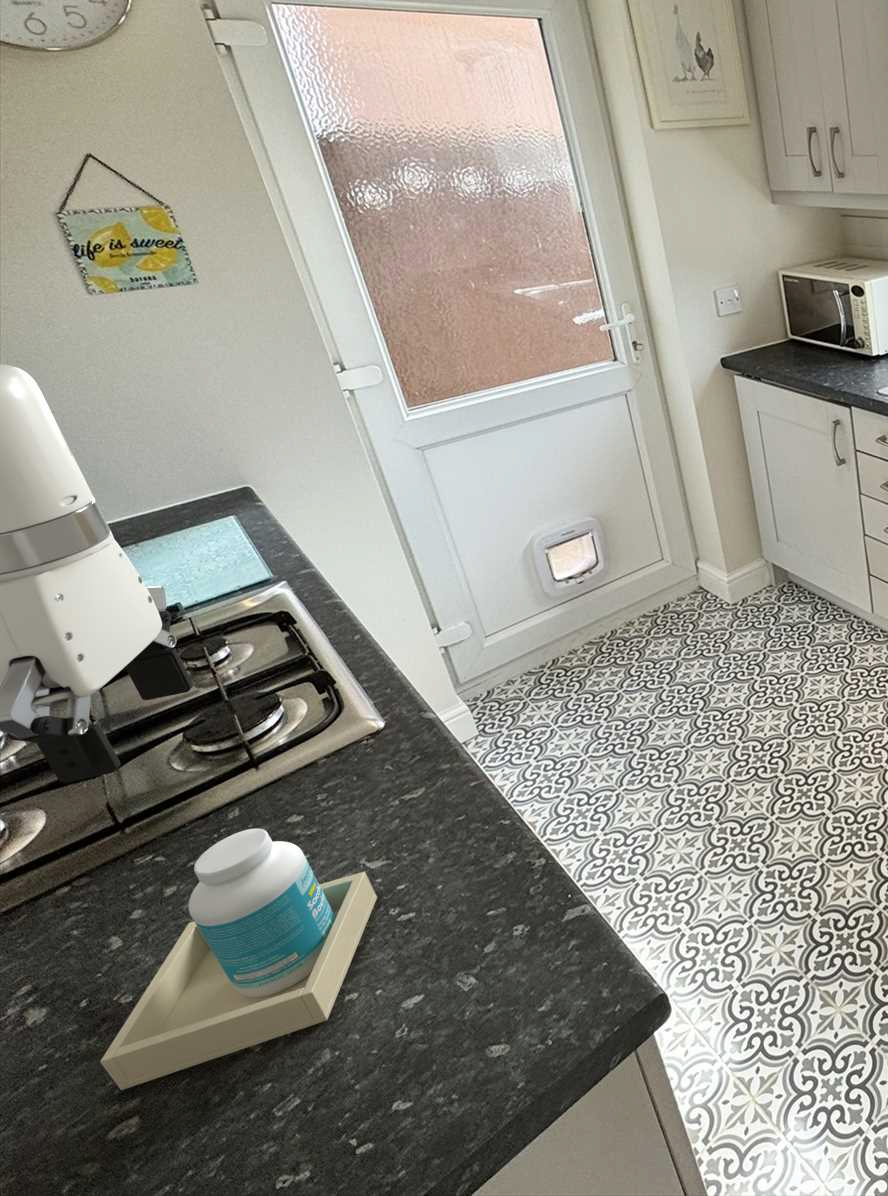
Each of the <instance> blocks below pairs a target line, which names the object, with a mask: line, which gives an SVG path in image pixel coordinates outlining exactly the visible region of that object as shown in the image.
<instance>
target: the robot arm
mask: <svg viewBox="0 0 888 1196" xmlns="http://www.w3.org/2000/svg"><path fill="white" fill-rule="evenodd" d="M77 462H78V461H76V459H75V456H74V455H73V452H72V451H71V449H70V446H69V444H68V443H67V440H66V439H65V437H64V435H63V433H62V431H61V429H60V427H59V425H58V422H57V421H56V418H55V417H54V415H53V413H52V410H51V408H50V407H49V404H48V402H47V401H46V399H45V396H44V395H43V393H42V391H41V389H40V387H39V386H38V384H37V382H36V380H35V379H34V378H33V377H32V376H31V375H30V374H28V372H26V371H25V370H23V369H21V368H19V367H16V366H13V365H11V364H2V363H0V732H2V733H4V734H5V735H7V737H8V739H10V740H11V741H17V742H18V741H19V742H24V743H25V744H26V745H28V746H34V745H36V746H37V747H38V749H39V750H40V752H41V754H42V755H43V757H44V759H45V760H46V762H47V763H48V765H49V767H50V768H51V771H52V772H53V774H54V775H55V776H56V778H57V780H58V782H60V783H64V784H66V783H67V784H68V783H72V782H77V781H82V780H86V779H90V778H95V777H100V776H104V775H108V774H112V773H114V772H116V771H117V769H119V768H120V767H121V765H122V764H121V761H120V759H119V757H118V755H117V754H116V751H115V750H114V747H113V746H112V744H111V743H110V741H109V739H108V737H107V736H106V733H105V732H104V730H103V728H102V726H101V725H100V723H95V724H90V713H91V702H92V701H91V699H92V695H93V694H95V693H97V692H98V691H99V690H100V689H101V688H103V687H104V686H105V685H106V684H108V683H109V682H110V681H111V680H113V678H114V677H116V676H117V675H118V674H119V673H120V672H121V671H122V670H123V669H124V668H125V671H126V672H127V674H128V675H129V677H130V679H131V681H132V683H133V685H134V687H135V688H136V690H137V693H138V694H139V696H140V698H141V699H142V700H143V701H150V700H156V699H161V698H165V697H170V696H175V695H181V694H186V693H188V692H190V690H191V689H192V688H193V687H194V683H193V681H192V679H191V676H190V675H189V673H188V671H187V669H186V667H185V665H184V663H183V661H182V659H181V656H180V655H179V652H178V651H177V649H176V647H175V646H176V645H177V637H176V634H174V633H172V632H171V631H170V630H171V623H172V619H173V618H172V614H171V613H170V611H168V610H167V609H168V608H167V607H168V606H167V597H166V590H165V588H164V587H163V586H160V585H158V586H146V584H145V582H144V580H143V579H142V577H141V576H140V574H139V572H138V570H137V569H136V568H135V565H134V564H133V562H132V561H131V560H130V558H129V557H128V556H127V554H126V553H125V551H124V549H123V548H122V547H121V546H120V544H119V543H118V542H117V540H116V539H115V537H114V534H113V533H112V530H111V528H110V526H109V524H108V522H107V521H106V518H105V516H104V514H103V512H102V510H101V508H100V506H99V505H98V502H97V501H96V498H95V496H94V495H93V493H92V491H91V489H90V486H89V485H88V483H87V481H86V478H85V477H84V474H83V473H82V470H81V469H80V466H79V464H78V463H77ZM174 647H175V648H174ZM60 687H62V688H67V687H69V688H70V689H68V690H63V691H58V692H54V693H53V692H52V693H50V689H55V688H60ZM60 704H66V705H67V706H66V715H65V717H59V716H52V715H51V706H55V705H60Z"/></svg>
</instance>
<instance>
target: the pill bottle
mask: <svg viewBox="0 0 888 1196" xmlns="http://www.w3.org/2000/svg"><path fill="white" fill-rule="evenodd" d="M193 871H194V873H195V876H196V877H197V880H198V881H199V882H198V883H197V884H196V886H195V887H194V889H193V890H192V892H191V894H190V897H189V899H188V907H187V908H188V912H189V914H190V915H189V916H190V917H191V918H192V920H193V921H194V922H195V923H196V925H197V927H198V928H199V930H200V931H201V933H202V935H203V936H204V938H205V940H206V941H207V943H208V945H209V946H210V948H211V950H212V951H213V953H214V955H215V956H216V958H217V960H218V961H219V963H220V965H221V967H222V968H223V970H224V971H225V973H226V975H227V976H228V978H229V980H230V981H231V983H232V985H233V986H234V988H235V989H236V990H237V992H238V993H240V994H241V995H243V996H246V997H263V996H268V995H271V994H274V993H277V992H280V991H282V990H284V989H287V988H289V987H291V986H292V985H294V984H296V983H298V982H299V981H301V980H302V979H304V978H305V977H307V976H308V975H309V974H311V972H312V970H313V968H314V965H315V963H316V961H317V959H318V957H319V954H320V952H321V950H322V948H323V945H324V943H325V941H326V939H327V937H328V934H329V932H330V930H331V928H332V925H333V923H334V921H335V919H336V917H335V915H334V913H333V911H332V909H331V907H330V905H329V903H328V901H327V899H326V897H325V895H324V893H323V891H322V889H321V887H320V883H319V881H318V880H317V878H316V875H315V873H314V872H313V870H312V867H311V866H310V864H309V862H308V859H307V857H306V856H305V853H304V852H303V850H302V849H301V848H300V847H299V846H298V845H296V844H294V843H292V842H288V841H282V840H281V841H279V840H277V841H273V840H272V838H271V836H270V835H269V833H268V832H267V830H265V829H263V828H249V829H244V830H241V831H239V832H236V833H233V834H231V835H229V836H227V837H225V838H223V839H221V840H220V841H217V842H216V843H215V844H213V845H212V846H210V847H209V848H208V849H206V850H205V851H204V852H203V853H202V854H201V855H200V856H199V857H198V858H197V860H196V862H195V863H194V866H193Z"/></svg>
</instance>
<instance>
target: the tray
mask: <svg viewBox="0 0 888 1196" xmlns="http://www.w3.org/2000/svg"><path fill="white" fill-rule="evenodd" d="M319 885H320V887H321V889H322V891H323V893H324V895H325V897H326V899H327V901H328V903H329V905H330V907H331V909H332V911H333V913H334V915H335V917H336V919H335V921H334V923H333V925H332V928H331V930H330V932H329V934H328V937H327V939H326V941H325V943H324V945H323V948H322V950H321V952H320V954H319V957H318V959H317V961H316V963H315V965H314V968H313V970H312V972H311V974H309V975H308V976H307V977H305V978H304V979H302V980H301V981H299V982H298V983H296V984H294V985H292V986H291V987H289V988H287V989H284V990H282V991H280V992H277V993H274V994H271V995H268V996H263V997H246V996H243V995H241V994H240V993H238V992H237V990H236V989H235V988H234V986H233V985H232V983H231V981H230V980H229V978H228V976H227V975H226V973H225V971H224V970H223V968H222V967H221V965H220V963H219V961H218V960H217V958H216V956H215V955H214V953H213V951H212V950H211V948H210V946H209V945H208V943H207V941H206V940H205V938H204V936H203V935H202V933H201V931H200V930H199V928H198V927H197V925H196V923H195V922H194V920H193V921H191V922H188V924H187V925H186V927H185V928H184V929H183V931H182V933H181V934H180V936H179V938H178V939H177V941H176V942H175V944H174V946H173V947H172V949H171V950H170V952H169V953H168V955H167V956H166V958H165V960H164V961H163V962H162V964H161V966H160V968H158V970H157V972H156V974H155V975H154V977H153V978H152V980H151V981H150V982H149V985H148V986H147V987H146V989H145V991H143V994H142V995H141V997H140V999H139V1001H137V1003H136V1005H135V1006H134V1008H133V1009H132V1011H131V1012H130V1014H129V1015H128V1017H127V1019H126V1020H125V1022H124V1024H123V1025H122V1026H121V1028H120V1030H119V1031H118V1033H117V1035H116V1036H115V1038H114V1039H113V1040H112V1042H111V1044H110V1045H109V1047H108V1049H107V1050H106V1052H104V1055H103V1056H102V1058H101V1059H100V1064H101V1065H102V1067H103V1068H104V1069H105V1071H106V1072H107V1073H108V1074H109V1076H110V1077H111V1079H112V1080H113V1082H114V1083H115V1084H116V1085H117V1087H118V1088H119V1089H120V1091H123V1090H126V1089H129V1088H132V1087H135V1086H138V1085H141V1084H144V1083H147V1082H150V1081H153V1080H156V1079H159V1078H162V1077H165V1076H167V1075H170V1074H174V1073H177V1072H179V1071H182V1070H185V1069H189V1068H191V1067H195V1066H198V1065H200V1064H203V1063H206V1062H209V1061H212V1060H214V1059H218V1058H220V1057H224V1056H226V1055H229V1054H232V1053H235V1052H238V1051H241V1050H244V1049H247V1048H250V1047H253V1046H256V1045H259V1044H261V1043H265V1042H267V1041H268V1042H269V1041H271V1040H273V1039H277V1038H280V1037H283V1036H286V1035H288V1034H291V1033H295V1032H297V1031H300V1030H303V1029H306V1028H308V1027H311V1026H315V1025H318V1024H321V1023H324V1022H326V1021H328V1020H329V1017H330V1014H331V1012H332V1009H333V1008H334V1005H335V1002H336V999H337V997H338V995H339V992H340V989H341V987H342V985H343V982H344V980H345V978H346V975H347V973H348V970H349V968H350V965H351V963H352V960H353V958H354V956H355V953H356V950H357V948H358V946H359V942H360V941H361V939H362V936H363V933H364V931H365V929H366V926H367V923H368V921H369V919H370V916H371V914H372V911H373V909H374V906H375V904H376V901H377V899H378V896H377V894H376V891H375V890H374V888H373V886H372V883H371V882H370V879H369V877H368V875H367V873H366V871H362V872H358V873H355V874H350V875H348V876H344V877H341V878H338V879H334V880H331V881H327V882H323V883H321V884H320V883H319Z"/></svg>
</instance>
